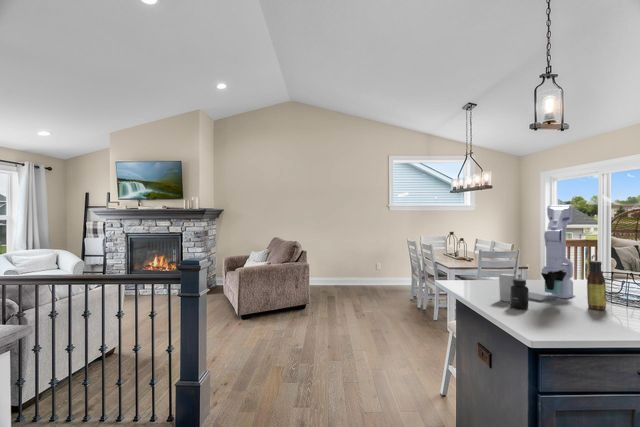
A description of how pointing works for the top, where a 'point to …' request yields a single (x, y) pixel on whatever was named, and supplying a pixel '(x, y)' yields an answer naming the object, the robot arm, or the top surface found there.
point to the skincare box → (505, 286)
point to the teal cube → (556, 287)
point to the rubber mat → (539, 297)
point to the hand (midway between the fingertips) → (553, 288)
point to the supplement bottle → (519, 294)
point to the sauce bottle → (596, 287)
